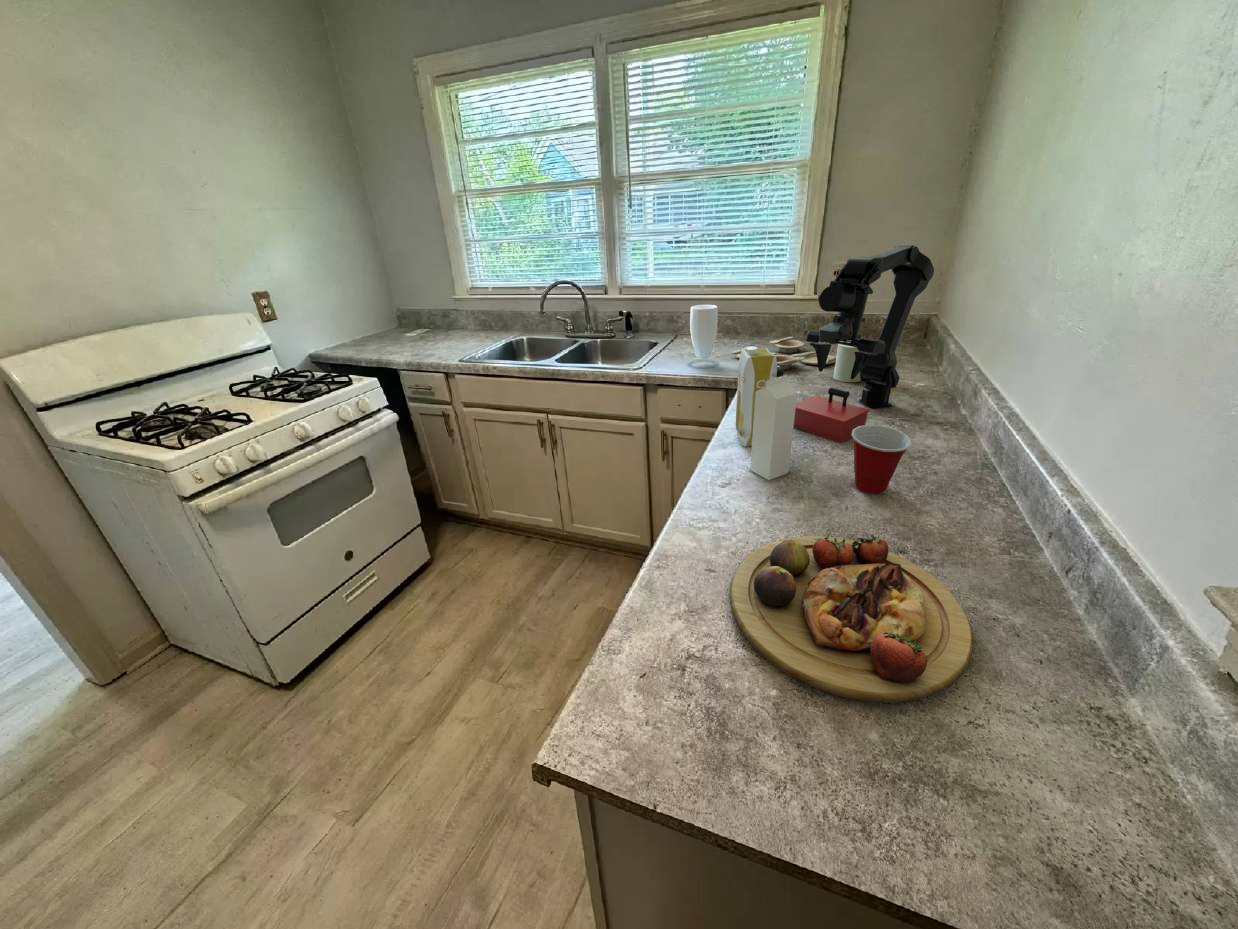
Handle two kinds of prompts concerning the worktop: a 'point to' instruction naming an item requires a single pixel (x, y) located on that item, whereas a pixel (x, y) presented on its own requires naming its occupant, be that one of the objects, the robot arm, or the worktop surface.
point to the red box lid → (831, 407)
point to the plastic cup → (877, 456)
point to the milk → (773, 428)
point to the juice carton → (751, 387)
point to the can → (845, 363)
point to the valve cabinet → (827, 426)
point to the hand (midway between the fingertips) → (835, 375)
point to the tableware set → (791, 347)
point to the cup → (703, 329)
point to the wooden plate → (851, 618)
